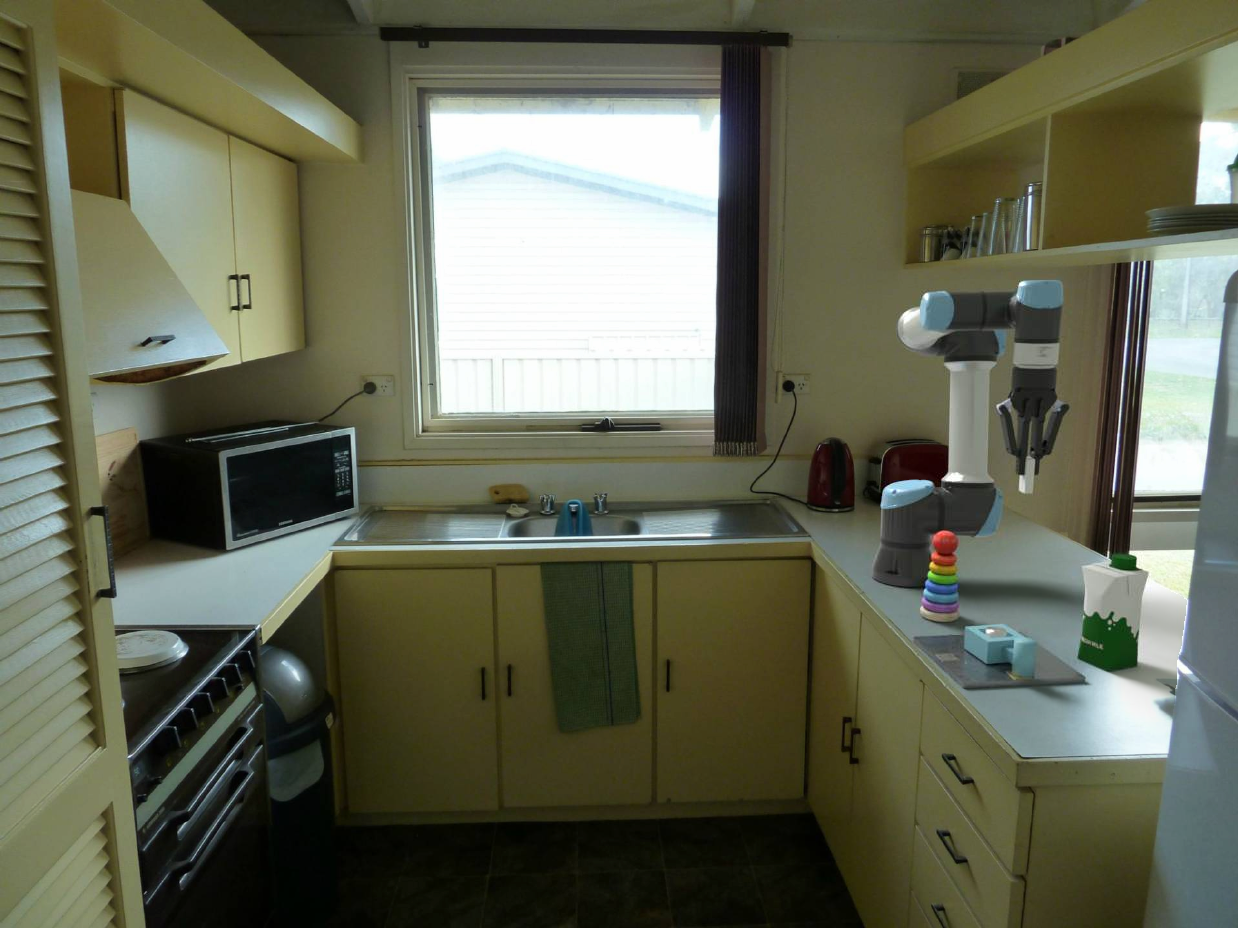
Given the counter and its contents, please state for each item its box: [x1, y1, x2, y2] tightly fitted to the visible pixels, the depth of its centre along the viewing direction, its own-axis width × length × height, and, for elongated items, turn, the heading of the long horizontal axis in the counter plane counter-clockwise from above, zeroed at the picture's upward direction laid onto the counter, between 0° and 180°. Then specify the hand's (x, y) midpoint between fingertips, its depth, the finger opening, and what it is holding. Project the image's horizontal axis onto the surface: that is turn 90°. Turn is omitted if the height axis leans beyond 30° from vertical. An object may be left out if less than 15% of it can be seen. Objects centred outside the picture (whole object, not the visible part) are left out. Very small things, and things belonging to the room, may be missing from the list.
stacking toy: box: [919, 531, 960, 623], centre depth 192 cm, size 8×8×19 cm
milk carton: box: [1076, 552, 1150, 673], centre depth 167 cm, size 9×9×20 cm
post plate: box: [912, 627, 1086, 689], centre depth 170 cm, size 22×22×6 cm
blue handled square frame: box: [964, 623, 1037, 678], centre depth 166 cm, size 8×15×6 cm, turn 9°
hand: (1025, 491), depth 172 cm, fingers closed
